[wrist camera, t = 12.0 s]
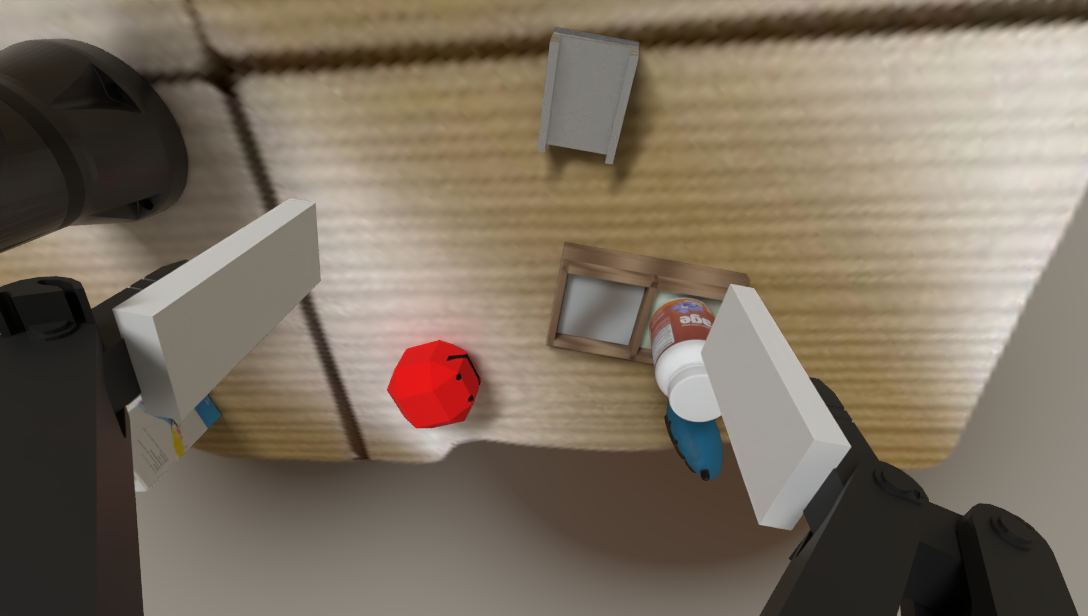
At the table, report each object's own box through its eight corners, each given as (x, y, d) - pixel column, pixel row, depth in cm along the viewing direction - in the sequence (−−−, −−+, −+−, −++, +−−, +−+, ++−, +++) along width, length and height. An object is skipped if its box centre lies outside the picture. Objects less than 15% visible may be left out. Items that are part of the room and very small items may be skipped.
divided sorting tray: (546, 338, 51) (544, 354, 49) (564, 241, 45) (563, 253, 43) (708, 367, 51) (713, 384, 49) (746, 274, 45) (754, 287, 43)
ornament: (650, 389, 53) (660, 461, 45) (689, 372, 52) (708, 442, 43) (685, 438, 56) (701, 513, 48) (723, 423, 55) (747, 498, 46)
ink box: (187, 361, 57) (100, 434, 47) (223, 415, 62) (150, 493, 52) (125, 368, 59) (28, 440, 49) (164, 420, 63) (82, 497, 53)
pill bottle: (728, 313, 46) (761, 390, 37) (687, 359, 49) (709, 441, 40) (673, 283, 45) (692, 354, 35) (635, 331, 48) (643, 408, 38)
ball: (492, 382, 55) (478, 431, 48) (429, 397, 57) (407, 446, 50) (462, 324, 51) (442, 368, 45) (396, 342, 53) (368, 387, 47)
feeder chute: (540, 142, 41) (534, 157, 37) (557, 27, 37) (552, 28, 32) (611, 155, 41) (613, 171, 37) (636, 40, 37) (641, 44, 32)
